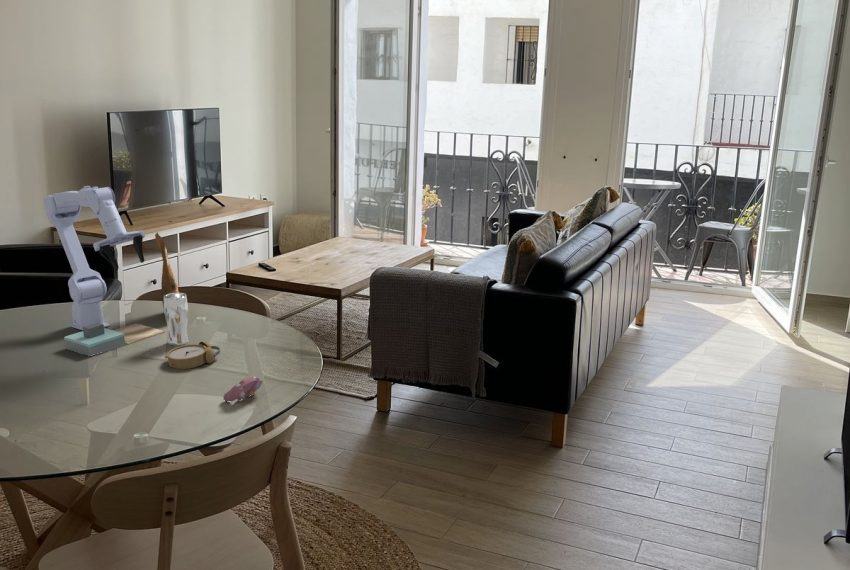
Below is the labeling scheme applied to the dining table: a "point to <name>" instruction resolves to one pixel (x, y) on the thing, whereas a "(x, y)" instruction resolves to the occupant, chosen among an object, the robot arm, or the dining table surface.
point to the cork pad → (137, 332)
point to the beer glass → (176, 318)
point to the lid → (94, 335)
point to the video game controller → (243, 389)
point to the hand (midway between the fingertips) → (130, 265)
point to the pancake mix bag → (166, 271)
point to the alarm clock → (192, 355)
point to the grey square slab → (97, 348)
